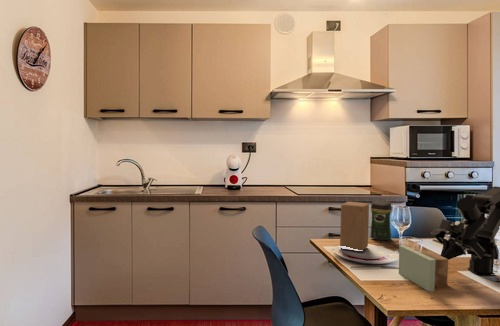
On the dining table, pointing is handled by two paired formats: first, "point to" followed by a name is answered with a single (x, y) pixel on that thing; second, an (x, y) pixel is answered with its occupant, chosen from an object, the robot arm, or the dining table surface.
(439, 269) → the walnut block
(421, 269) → the stop board
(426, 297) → the dining table surface
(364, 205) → the wooden block
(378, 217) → the coffee jar
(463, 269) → the dining table surface
